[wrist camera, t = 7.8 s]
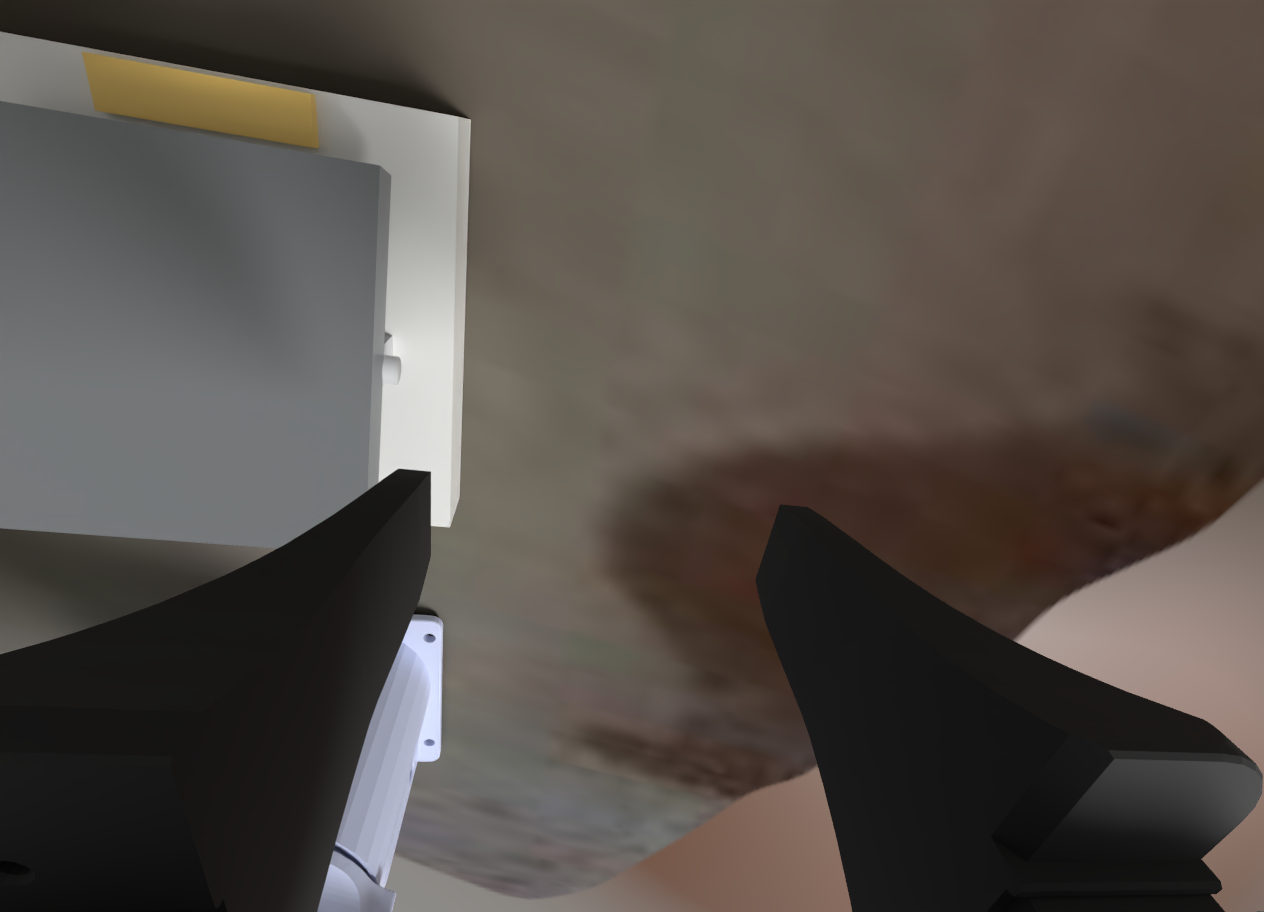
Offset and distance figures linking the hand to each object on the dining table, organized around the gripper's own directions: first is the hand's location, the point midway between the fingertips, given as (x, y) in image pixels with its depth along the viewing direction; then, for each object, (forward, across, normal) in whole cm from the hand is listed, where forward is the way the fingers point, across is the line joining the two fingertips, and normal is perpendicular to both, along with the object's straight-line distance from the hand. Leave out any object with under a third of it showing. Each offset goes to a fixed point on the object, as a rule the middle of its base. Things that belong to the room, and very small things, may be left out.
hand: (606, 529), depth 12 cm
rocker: (+6, +10, 0) cm, 12 cm away
